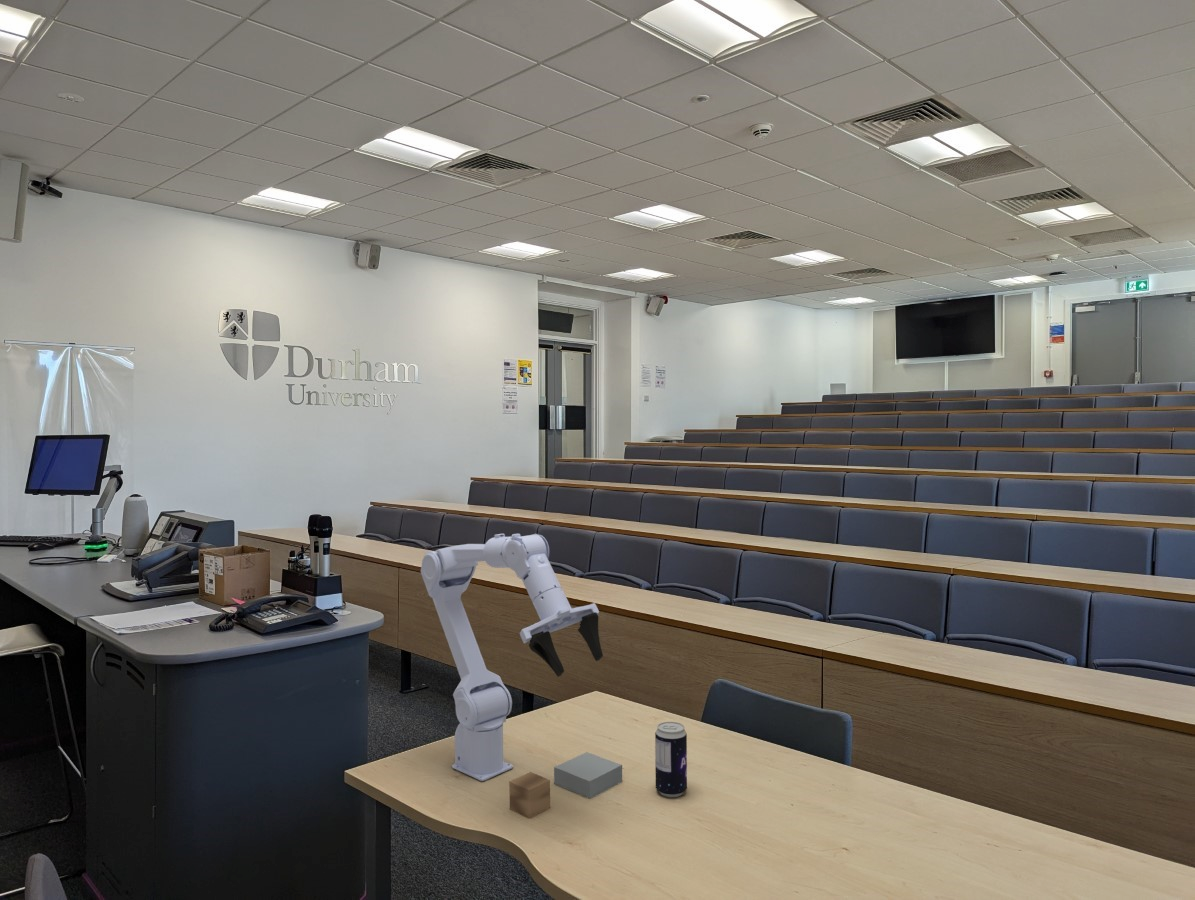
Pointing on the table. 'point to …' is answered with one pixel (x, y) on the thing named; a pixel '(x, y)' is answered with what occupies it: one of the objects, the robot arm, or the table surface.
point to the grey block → (588, 774)
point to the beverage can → (671, 759)
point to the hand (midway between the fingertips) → (580, 666)
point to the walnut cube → (529, 794)
